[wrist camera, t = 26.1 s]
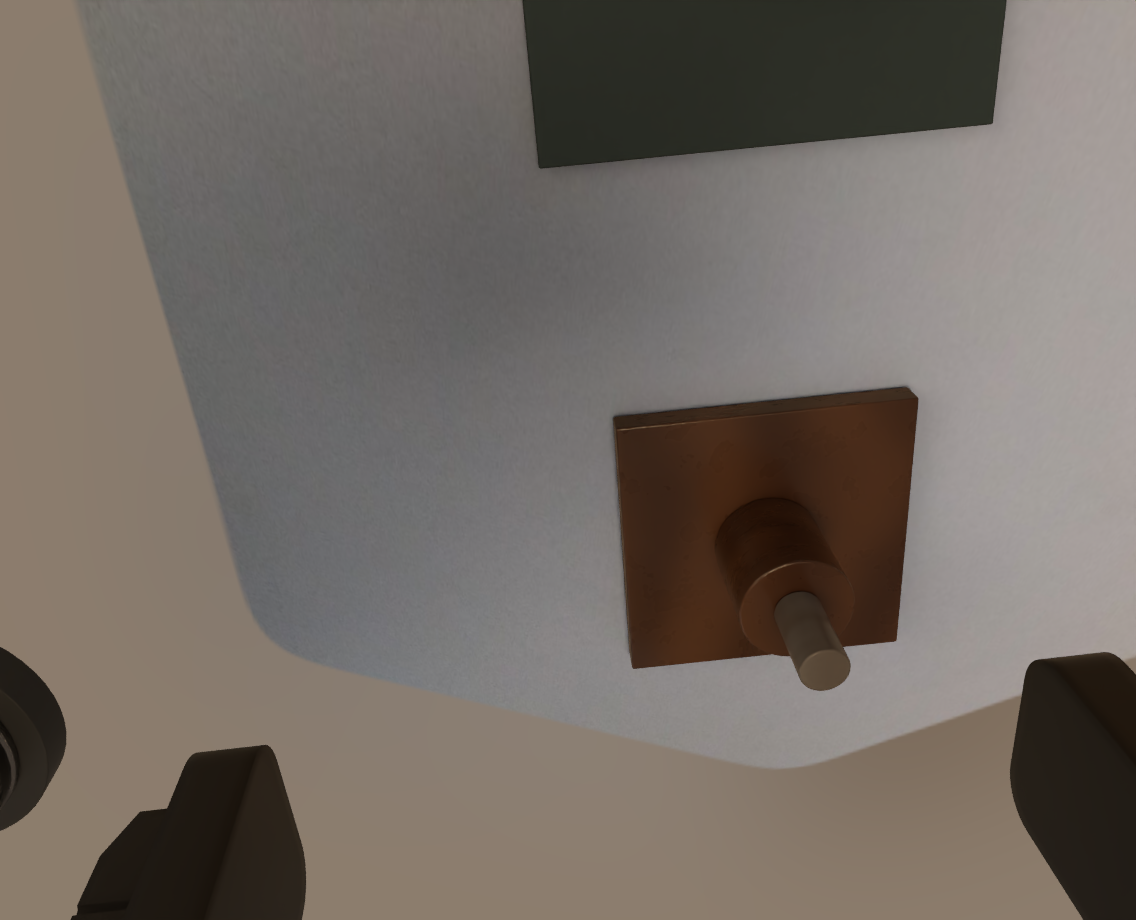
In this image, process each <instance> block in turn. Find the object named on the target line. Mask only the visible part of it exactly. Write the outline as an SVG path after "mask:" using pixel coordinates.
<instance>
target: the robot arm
mask: <svg viewBox="0 0 1136 920" xmlns="http://www.w3.org/2000/svg"><path fill="white" fill-rule="evenodd" d="M19 773H20V761H19V755H18V751H17V748H16V746H15V743H14V741H13V739H12V737H11V735H10V734H9V732H8V731H7V729H6V728H5V727H4V725H3V724H2V723H1V722H0V810H1V808H2V807H3V806H4V805H5V803H6V802H7V800H8V799H9V797H10V795H11V794H12V792H13V791H14V789H15V787H16V784H17V781H18V778H19ZM1010 779H1011V788H1012V793H1013V798H1014V802H1015V805H1016V808H1017V811H1018V813H1019V816H1020V818H1021V820H1022V822H1023V825H1024V826H1025V828H1026V830H1027V832H1028V833H1029V835H1030V836H1031V838H1032V840H1033V841H1034V843H1035V844H1036V846H1037V847H1038V849H1039V850H1040V852H1041V854H1042V855H1043V857H1044V858H1045V860H1046V862H1047V863H1048V865H1049V866H1050V868H1051V869H1052V871H1053V873H1054V874H1055V876H1056V877H1057V879H1058V880H1059V882H1060V884H1061V885H1062V887H1063V888H1064V890H1065V892H1066V893H1067V895H1068V896H1069V898H1070V899H1071V901H1072V903H1073V904H1074V906H1075V907H1076V909H1077V910H1078V912H1079V913H1080V915H1081V917H1082V918H1083V920H1136V674H1135V673H1134V672H1133V671H1132V670H1131V669H1130V668H1129V667H1128V666H1127V665H1126V664H1125V663H1124V662H1123V661H1122V660H1121V659H1120V658H1119V657H1117V656H1116V655H1114V654H1111V653H1108V652H1101V653H1092V654H1083V655H1075V656H1066V657H1057V658H1048V659H1039V660H1035V661H1033V662H1032V663H1031V664H1030V665H1029V667H1028V669H1027V671H1026V675H1025V679H1024V685H1023V691H1022V698H1021V704H1020V710H1019V716H1018V722H1017V728H1016V734H1015V741H1014V747H1013V753H1012V759H1011V767H1010ZM305 869H306V868H305V859H304V852H303V847H302V844H301V840H300V837H299V833H298V830H297V827H296V823H295V820H294V817H293V813H292V809H291V806H290V803H289V800H288V796H287V793H286V790H285V786H284V783H283V779H282V776H281V772H280V769H279V766H278V762H277V759H276V757H275V754H274V752H273V750H272V749H271V748H270V747H269V746H268V745H261V746H252V747H243V748H234V749H225V750H216V751H208V752H200V753H195V754H193V755H192V756H191V757H190V758H189V759H188V761H187V762H186V764H185V766H184V769H183V771H182V773H181V776H180V778H179V781H178V784H177V786H176V788H175V791H174V793H173V796H172V798H171V801H170V803H169V806H168V808H167V809H160V810H151V811H142V812H139V814H138V815H137V816H136V817H135V818H134V819H133V820H132V821H131V822H130V824H129V825H128V826H127V827H126V828H125V829H124V830H123V831H122V833H121V834H120V835H119V836H118V837H117V838H116V839H115V840H114V841H113V842H112V843H111V845H110V846H109V847H108V848H107V849H106V850H105V851H104V852H103V853H102V855H101V856H100V857H99V860H98V862H97V864H96V866H95V868H94V870H93V873H92V875H91V877H90V879H89V881H88V884H87V886H86V888H85V890H84V892H83V894H82V896H81V899H80V901H79V903H78V905H77V907H78V912H77V915H75V916H72V918H71V920H302V915H303V910H304V903H305V893H306V870H305Z"/></svg>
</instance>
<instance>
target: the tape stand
mask: <svg viewBox="0 0 1136 920" xmlns="http://www.w3.org/2000/svg"><path fill="white" fill-rule="evenodd" d="M917 409H918V397H917V396H916V395H915V394H914V393H913V392H912V391H911V390H910V389H909V388H907V387H904V388H894V389H884V390H875V391H865V392H855V393H845V394H835V395H825V396H816V397H806V398H796V399H786V400H776V401H766V402H757V403H747V404H737V405H727V406H717V407H707V408H698V409H688V410H678V411H668V412H658V413H649V414H639V415H629V416H619V417H614V418H613V425H614V439H615V453H616V468H617V482H618V496H619V510H620V525H621V539H622V553H623V567H624V582H625V596H626V610H627V624H628V639H629V653H630V658H631V664H632V668H633V669H637V668H646V667H656V666H665V665H675V664H684V663H694V662H703V661H713V660H723V659H732V658H742V657H751V656H761V655H770V654H774V655H779V656H790V657H791V659H792V661H793V664H794V666H795V668H796V671H797V673H798V676H799V678H800V680H801V682H802V683H803V684H804V685H805V686H806V687H808V688H810V689H813V690H818V691H824V690H829V689H832V688H835V687H837V686H838V685H840V684H841V683H843V682H844V681H845V679H846V678H847V677H848V675H849V672H850V667H851V665H850V660H849V658H848V656H847V654H846V652H845V650H844V648H843V647H846V646H856V645H865V644H875V643H885V642H894V641H896V640H897V629H898V618H899V607H900V596H901V585H902V574H903V563H904V552H905V541H906V530H907V519H908V508H909V497H910V486H911V475H912V464H913V453H914V442H915V431H916V420H917Z"/></svg>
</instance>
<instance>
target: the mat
mask: <svg viewBox="0 0 1136 920" xmlns="http://www.w3.org/2000/svg"><path fill="white" fill-rule="evenodd" d="M523 9H524V19H525V30H526V40H527V50H528V61H529V71H530V81H531V92H532V102H533V112H534V123H535V133H536V143H537V154H538V164H539V168H551V167H561V166H572V165H582V164H592V163H602V162H612V161H622V160H632V159H643V158H653V157H663V156H673V155H683V154H693V153H703V152H714V151H724V150H734V149H744V148H754V147H764V146H774V145H785V144H795V143H805V142H815V141H825V140H835V139H845V138H856V137H866V136H876V135H886V134H896V133H906V132H916V131H927V130H937V129H947V128H957V127H967V126H977V125H987V124H992V123H993V115H994V106H995V97H996V89H997V80H998V71H999V62H1000V53H1001V44H1002V36H1003V27H1004V18H1005V9H1006V0H523Z"/></svg>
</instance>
